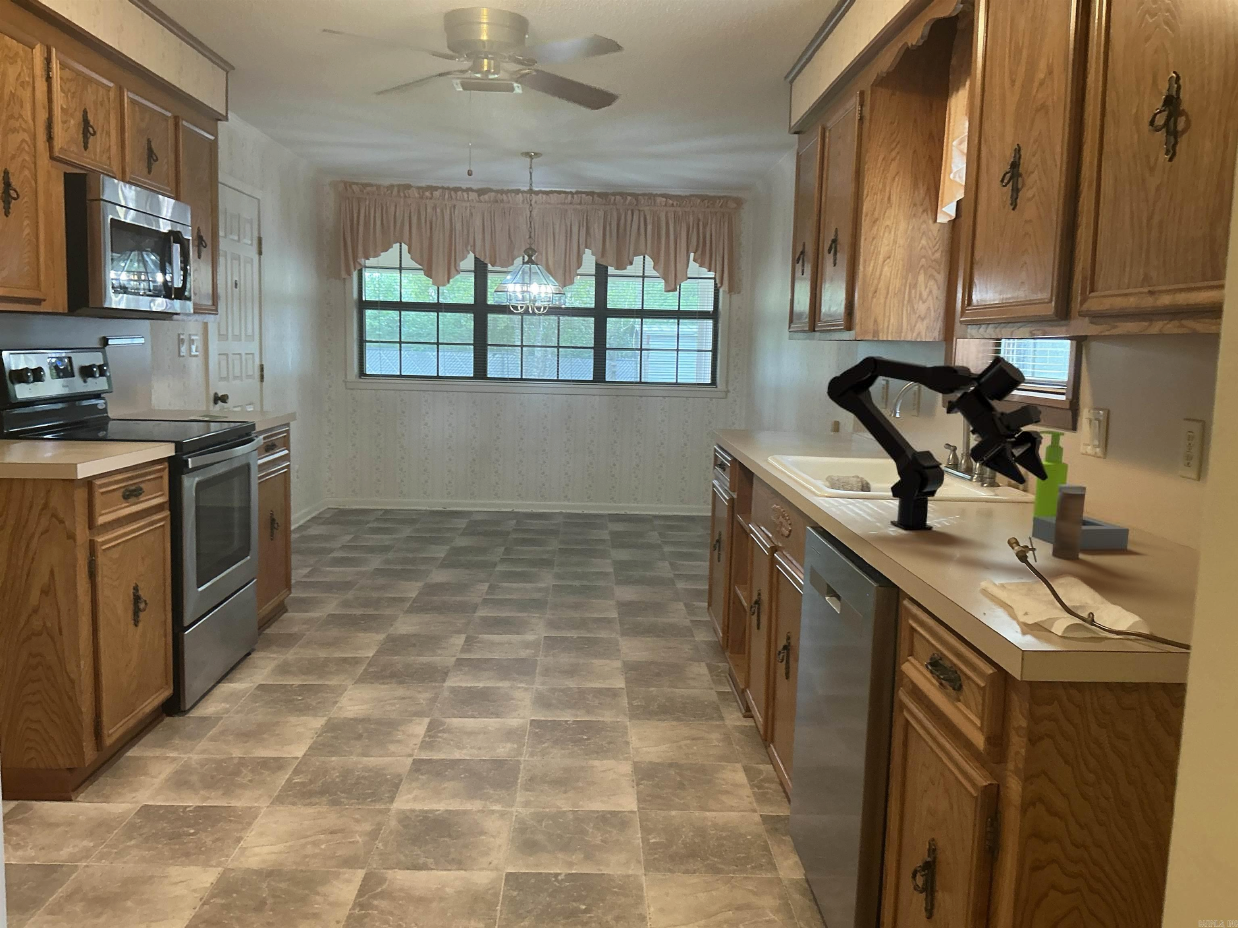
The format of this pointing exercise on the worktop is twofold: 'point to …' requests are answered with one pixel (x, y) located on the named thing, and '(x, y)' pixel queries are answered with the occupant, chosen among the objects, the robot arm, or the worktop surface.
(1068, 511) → the peg
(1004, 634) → the worktop surface
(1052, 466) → the soap dispenser
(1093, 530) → the socket block
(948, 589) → the worktop surface
